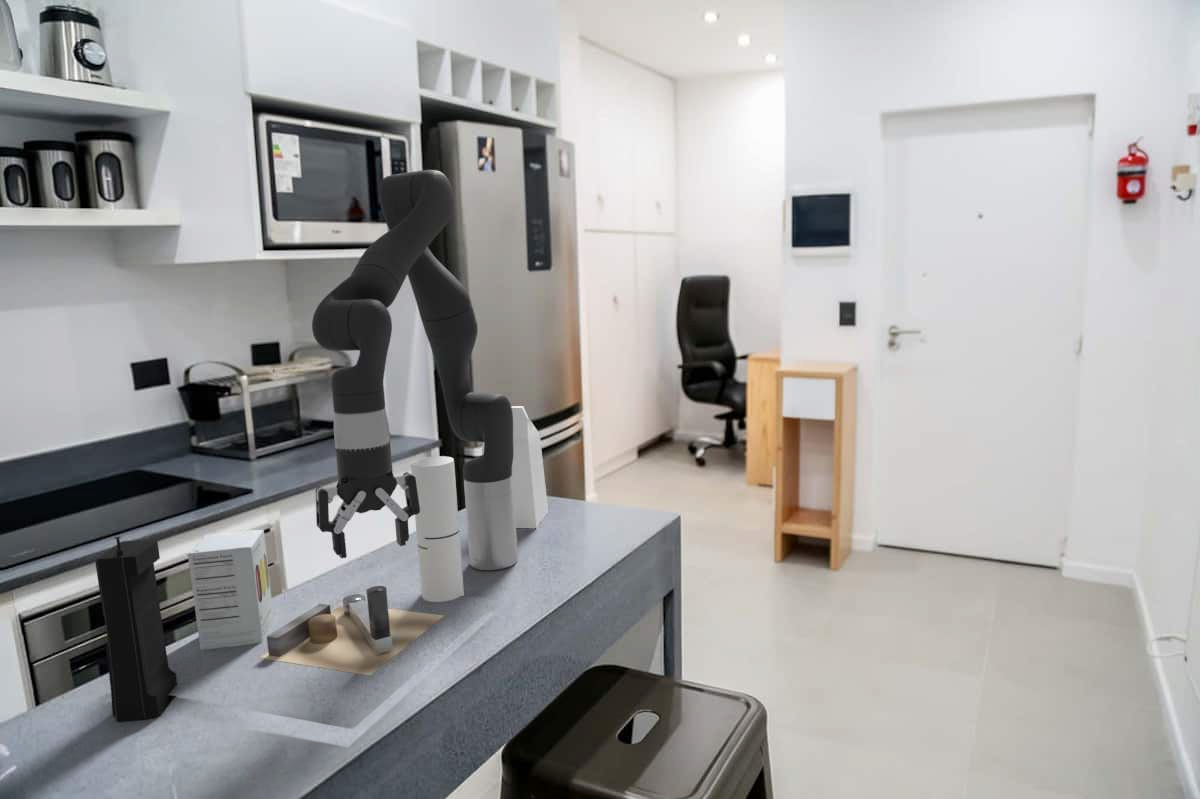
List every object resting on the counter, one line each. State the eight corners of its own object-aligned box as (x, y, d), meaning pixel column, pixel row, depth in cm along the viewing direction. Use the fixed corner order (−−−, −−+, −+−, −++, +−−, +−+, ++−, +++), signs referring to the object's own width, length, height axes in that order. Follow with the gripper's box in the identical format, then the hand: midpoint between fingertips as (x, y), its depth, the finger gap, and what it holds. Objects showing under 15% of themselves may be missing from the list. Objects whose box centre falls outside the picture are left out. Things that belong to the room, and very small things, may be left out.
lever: (341, 610, 137) (336, 557, 135) (363, 604, 138) (358, 552, 137) (372, 655, 120) (366, 595, 119) (396, 648, 122) (391, 590, 120)
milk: (483, 528, 182) (475, 412, 177) (498, 512, 193) (491, 402, 188) (536, 529, 180) (529, 411, 175) (548, 512, 191) (542, 402, 186)
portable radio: (138, 692, 116) (112, 522, 112) (182, 688, 117) (158, 519, 113) (110, 723, 109) (82, 541, 104) (158, 719, 109) (131, 538, 105)
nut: (321, 630, 130) (319, 612, 129) (342, 633, 129) (340, 615, 128) (304, 642, 126) (302, 623, 126) (326, 645, 125) (324, 626, 124)
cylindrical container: (455, 611, 139) (444, 466, 135) (415, 609, 140) (403, 466, 136) (470, 594, 146) (460, 456, 142) (432, 592, 147) (421, 456, 143)
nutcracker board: (344, 611, 141) (342, 586, 140) (445, 624, 134) (442, 598, 133) (260, 667, 122) (256, 638, 121) (371, 685, 115) (368, 655, 115)
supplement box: (264, 651, 127) (251, 547, 124) (200, 659, 125) (185, 553, 123) (276, 625, 136) (264, 527, 134) (216, 632, 135) (204, 533, 132)
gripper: (404, 430, 124) (412, 534, 126) (305, 443, 117) (316, 553, 119) (419, 438, 117) (428, 547, 120) (316, 453, 110) (327, 568, 113)
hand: (372, 550), depth 120 cm, fingers open, 8 cm apart
